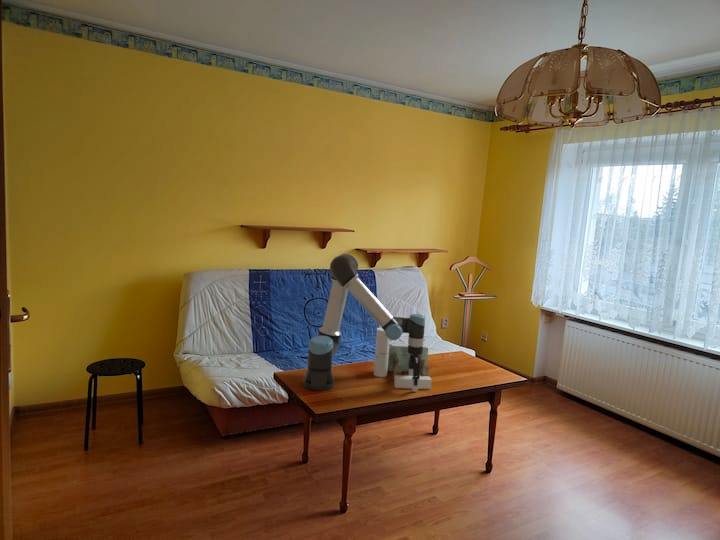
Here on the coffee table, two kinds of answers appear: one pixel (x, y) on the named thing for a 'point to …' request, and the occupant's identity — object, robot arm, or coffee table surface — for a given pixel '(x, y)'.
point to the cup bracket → (405, 360)
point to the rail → (407, 381)
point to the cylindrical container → (381, 353)
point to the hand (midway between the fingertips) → (412, 386)
